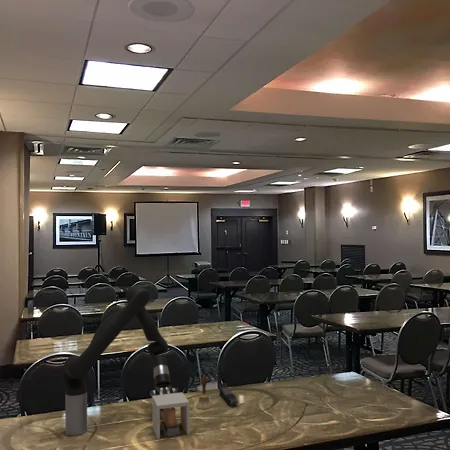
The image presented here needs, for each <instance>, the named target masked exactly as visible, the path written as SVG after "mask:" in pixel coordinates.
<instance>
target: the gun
mask: <svg viewBox="0 0 450 450" xmlns="http://www.w3.org/2000/svg"><path fill="white" fill-rule="evenodd" d="M217 389H218V390H219V396H221V397H222V398H223V400H225V401H226V402H227V404H228V406H230V407H231V408H234V407H236V406H237V405H238V401H239V400H238V399H237V397H236V395H235V394H234V393H233V391H232V390H231V389H230V388H229V385H228V384H227V383H226V382H221V383H218V384H217Z"/></svg>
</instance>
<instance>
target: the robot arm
mask: <svg viewBox="0 0 450 450" xmlns="http://www.w3.org/2000/svg"><path fill="white" fill-rule="evenodd" d="M125 299H126V302H127V304H126V305H125V306H124V307H123V308H122V309H119V311H117V312H114V314H112V315H110V316H109V317H107V318H106V319H105V320H104V321H103V322H102V323H101V324H100V326H98V328H97V329H96V331H94V334H93V336H92V338H91V341H90V343H89V345H88V347H86V349H84V351H83V352H82V353H81V354H80V355H77V354H74V355H70V356H69V357H67V358H65V360H64V364H63V369H62V370H63V371H62V374H63V376H62V377H63V387H64V391H65V392H64V393H65V413H64V416H65V418H64V419H65V426H64V427H65V436H73V437H74V436H81V435H83V434H85V433H87V432H88V387H87V384H86V382H85V376H87V375H88V374H89V372H90V371H91V370H92V368H93V366H95V364H96V362H97V361H98V359H99V358H100V356H101V355H102V354H104V352H105V351H106V350H107V349H108V348H109V346H111V344H112V343H113V342H114V340H115V339H116V338H117V337H118V336H119V335H120V333H122V331H123V330H124V329H125V328H126V326H128V324H129V323H130V322H131V321H132V320H133V319H134V317H135V318H137V321H138V323H139V325H140V326H141V329H142V332H143V333H144V336H145V339H146V341H148V342H149V343H148V344H147V346H146V348H147V349H146V350H147V353H148V355H149V356H150V359H151V362H152V368H153V380H154V381H153V382H154V387H155V388H154V390H150V392H149V396H150V397H151V399H152V396H155V395H156V394H157V395H164V394H170V393H171V392H172V391H173V393H177V392H178V391H179V388H178V387H176V388H174V387H173V386H172V382H171V377H170V370H169V367H168V360H167V358H166V357H165V356H164V354H165V353H167V352H168V350H169V345H168V342H167V341H166V340H165V338H164V337H163V335H161V333H160V331H159V328H158V326H157V324H156V321H155V320H154V318H153V317H152V315H151V313H149V311H148V310H147V309H146V306H147V305H148V303H149V301H150V299H151V294H150V291H149V290H148V289H146V288H143V287H140V286H138V285H137V286H136V285H132V286H130V287H128V288H127V290H126V292H125ZM161 412H163V409H160V413H161Z"/></svg>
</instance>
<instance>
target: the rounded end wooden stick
mask: <svg viewBox="0 0 450 450" xmlns="http://www.w3.org/2000/svg"><path fill="white" fill-rule="evenodd" d="M160 417H161V418H162V421H163V424H164V425H165V426H166V430H167V429H169V428H176V425H175V422H176V407H172V408H164V409H163V412H161V411H160Z"/></svg>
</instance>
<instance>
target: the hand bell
mask: <svg viewBox="0 0 450 450" xmlns="http://www.w3.org/2000/svg"><path fill="white" fill-rule="evenodd" d="M206 376H207V375H206V374H202V377H201V386H202V394H201V395H199V399H198V403H197V404H196V405H195V408H197V409H199V410H207V409H211V408H213V404H212V403H211V402H210V397H209V395H208V394H207V393H206V391H207V390H206V388H207V387H206V386H207V382H208V381H207V377H206Z"/></svg>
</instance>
